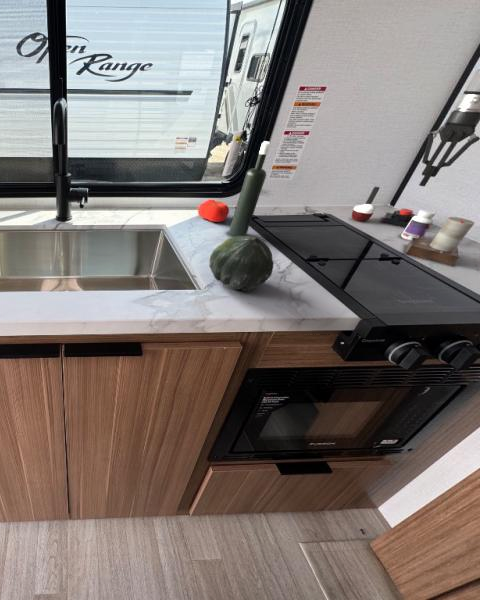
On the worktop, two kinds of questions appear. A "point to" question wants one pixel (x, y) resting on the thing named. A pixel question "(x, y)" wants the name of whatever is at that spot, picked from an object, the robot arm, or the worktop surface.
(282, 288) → the worktop surface
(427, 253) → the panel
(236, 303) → the worktop surface
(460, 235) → the beige waisted cup
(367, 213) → the cocoa
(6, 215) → the worktop surface
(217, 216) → the tomato
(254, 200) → the wine bottle
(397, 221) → the button box
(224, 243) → the squash
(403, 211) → the button
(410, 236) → the pill bottle
